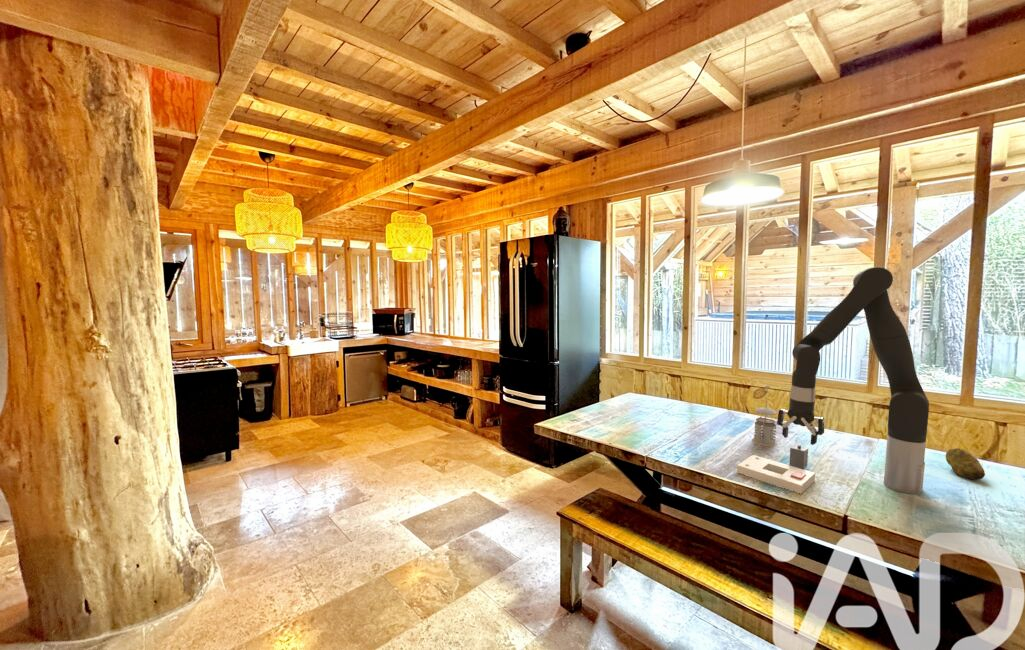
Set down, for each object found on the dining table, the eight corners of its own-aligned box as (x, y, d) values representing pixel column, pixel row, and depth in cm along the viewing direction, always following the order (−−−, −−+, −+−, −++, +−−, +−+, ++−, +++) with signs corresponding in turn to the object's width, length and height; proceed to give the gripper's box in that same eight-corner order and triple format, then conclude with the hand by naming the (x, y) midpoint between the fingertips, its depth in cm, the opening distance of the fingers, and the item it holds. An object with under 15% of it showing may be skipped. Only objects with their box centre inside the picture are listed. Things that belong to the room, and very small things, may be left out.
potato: (951, 477, 144) (953, 455, 144) (942, 464, 155) (944, 444, 154) (986, 484, 140) (988, 461, 139) (974, 470, 150) (976, 449, 149)
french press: (780, 442, 178) (783, 385, 176) (773, 449, 170) (776, 390, 168) (755, 436, 185) (757, 382, 183) (747, 443, 177) (749, 386, 175)
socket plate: (814, 481, 143) (815, 471, 142) (801, 494, 134) (801, 483, 134) (752, 462, 158) (753, 453, 158) (736, 472, 149) (737, 463, 149)
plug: (807, 468, 152) (808, 446, 151) (803, 472, 149) (804, 449, 149) (793, 465, 156) (794, 442, 155) (789, 468, 153) (790, 445, 152)
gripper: (829, 400, 147) (825, 444, 149) (784, 392, 158) (780, 432, 160) (822, 404, 142) (818, 449, 144) (776, 395, 153) (773, 437, 155)
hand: (798, 440), depth 152 cm, fingers open, 8 cm apart
